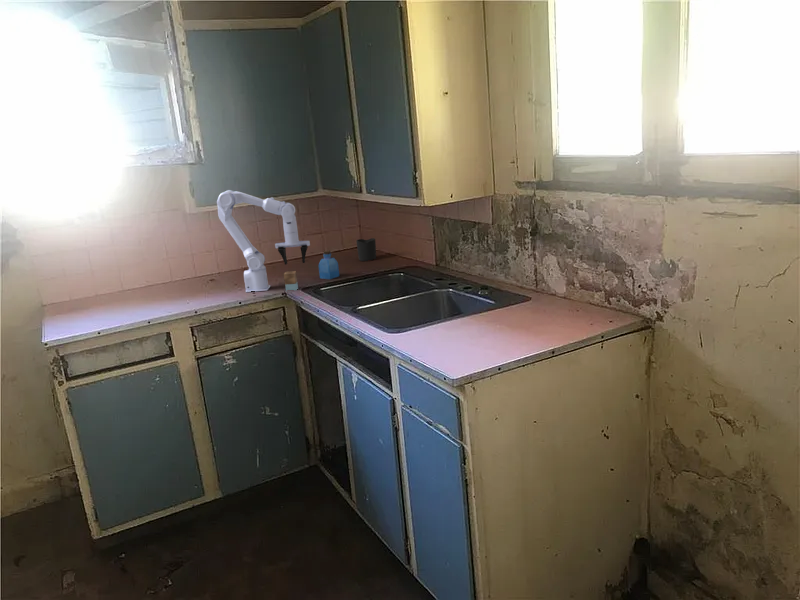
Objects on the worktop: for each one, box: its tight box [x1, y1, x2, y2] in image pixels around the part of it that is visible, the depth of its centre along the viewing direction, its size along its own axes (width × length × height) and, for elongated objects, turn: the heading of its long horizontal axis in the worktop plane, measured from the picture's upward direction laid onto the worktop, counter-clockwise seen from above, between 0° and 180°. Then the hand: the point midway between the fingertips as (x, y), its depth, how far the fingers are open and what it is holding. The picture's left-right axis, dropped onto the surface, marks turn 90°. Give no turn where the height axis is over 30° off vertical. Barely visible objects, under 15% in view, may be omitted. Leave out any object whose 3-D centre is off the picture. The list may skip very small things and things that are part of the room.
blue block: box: [284, 281, 299, 292], centre depth 278 cm, size 5×5×3 cm
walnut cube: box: [283, 270, 298, 285], centre depth 277 cm, size 4×4×4 cm
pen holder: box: [356, 237, 377, 262], centre depth 325 cm, size 9×9×10 cm
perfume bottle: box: [318, 250, 340, 280], centre depth 293 cm, size 6×6×12 cm
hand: (294, 263), depth 281 cm, fingers open, 7 cm apart
